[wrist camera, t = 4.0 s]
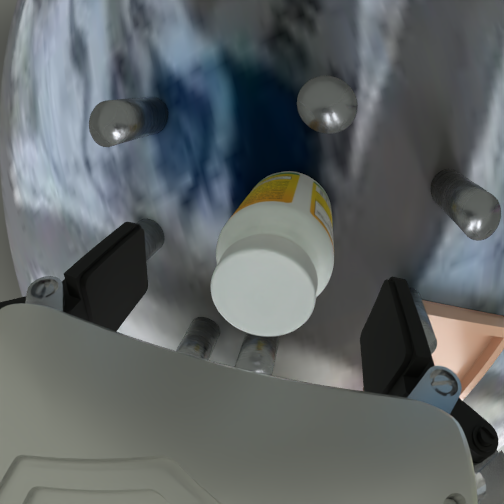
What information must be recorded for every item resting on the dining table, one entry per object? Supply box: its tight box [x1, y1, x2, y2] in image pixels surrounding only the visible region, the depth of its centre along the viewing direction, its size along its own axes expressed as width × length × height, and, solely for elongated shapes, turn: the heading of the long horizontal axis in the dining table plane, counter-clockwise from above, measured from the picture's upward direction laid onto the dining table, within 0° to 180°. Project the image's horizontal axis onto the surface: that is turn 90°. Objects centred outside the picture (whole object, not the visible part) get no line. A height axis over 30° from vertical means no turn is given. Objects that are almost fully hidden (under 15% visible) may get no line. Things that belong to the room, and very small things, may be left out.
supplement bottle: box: [210, 171, 334, 336], centre depth 15 cm, size 5×5×10 cm
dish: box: [363, 300, 504, 401], centre depth 22 cm, size 11×11×2 cm
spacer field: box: [89, 76, 501, 376], centre depth 19 cm, size 23×22×5 cm
